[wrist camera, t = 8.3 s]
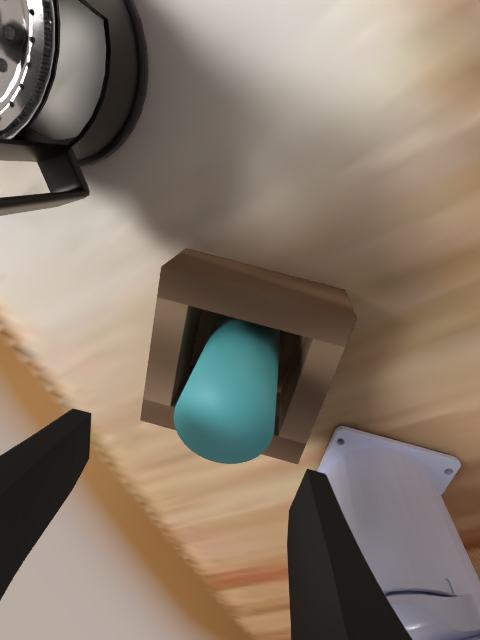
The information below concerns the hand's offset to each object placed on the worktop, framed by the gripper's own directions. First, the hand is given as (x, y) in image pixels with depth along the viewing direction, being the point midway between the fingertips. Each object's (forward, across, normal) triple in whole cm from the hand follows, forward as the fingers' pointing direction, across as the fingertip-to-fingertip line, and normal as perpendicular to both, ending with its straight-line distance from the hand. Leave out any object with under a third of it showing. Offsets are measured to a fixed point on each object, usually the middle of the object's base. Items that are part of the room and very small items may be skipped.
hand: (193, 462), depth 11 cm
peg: (+10, -1, 0) cm, 10 cm away
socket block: (+10, -1, +1) cm, 10 cm away
